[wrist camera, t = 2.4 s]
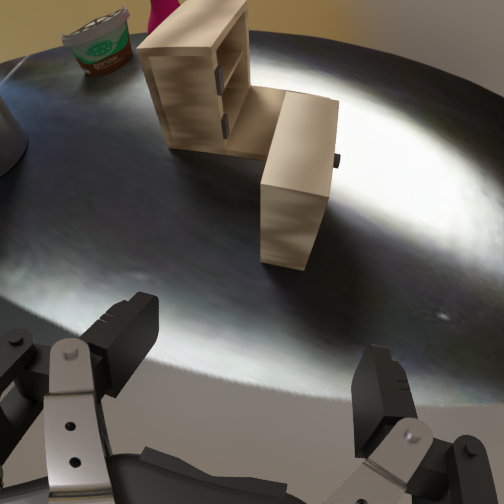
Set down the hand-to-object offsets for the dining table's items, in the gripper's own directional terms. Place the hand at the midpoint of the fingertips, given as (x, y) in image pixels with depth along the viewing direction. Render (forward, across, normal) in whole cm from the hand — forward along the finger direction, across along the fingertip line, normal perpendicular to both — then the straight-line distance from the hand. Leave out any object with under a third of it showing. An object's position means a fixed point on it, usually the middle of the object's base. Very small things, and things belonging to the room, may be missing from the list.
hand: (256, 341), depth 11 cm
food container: (+38, +34, -16) cm, 54 cm away
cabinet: (+30, +7, -8) cm, 31 cm away
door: (+20, 0, +1) cm, 20 cm away
